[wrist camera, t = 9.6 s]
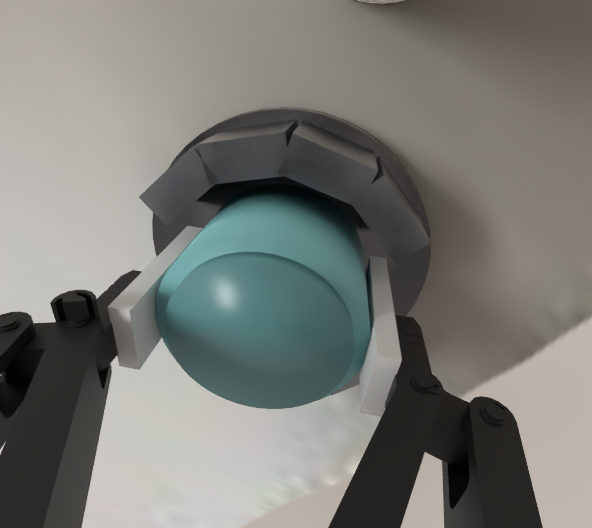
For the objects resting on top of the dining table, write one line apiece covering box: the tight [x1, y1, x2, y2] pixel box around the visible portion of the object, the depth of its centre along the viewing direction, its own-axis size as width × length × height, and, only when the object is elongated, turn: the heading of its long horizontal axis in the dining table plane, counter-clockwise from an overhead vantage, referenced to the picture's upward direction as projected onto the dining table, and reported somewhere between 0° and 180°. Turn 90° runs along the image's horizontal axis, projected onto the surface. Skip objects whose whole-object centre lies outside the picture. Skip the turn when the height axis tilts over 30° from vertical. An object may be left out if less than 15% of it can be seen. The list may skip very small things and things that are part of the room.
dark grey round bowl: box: [139, 107, 430, 395], centre depth 17 cm, size 14×14×4 cm
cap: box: [156, 184, 371, 409], centre depth 15 cm, size 8×8×6 cm
